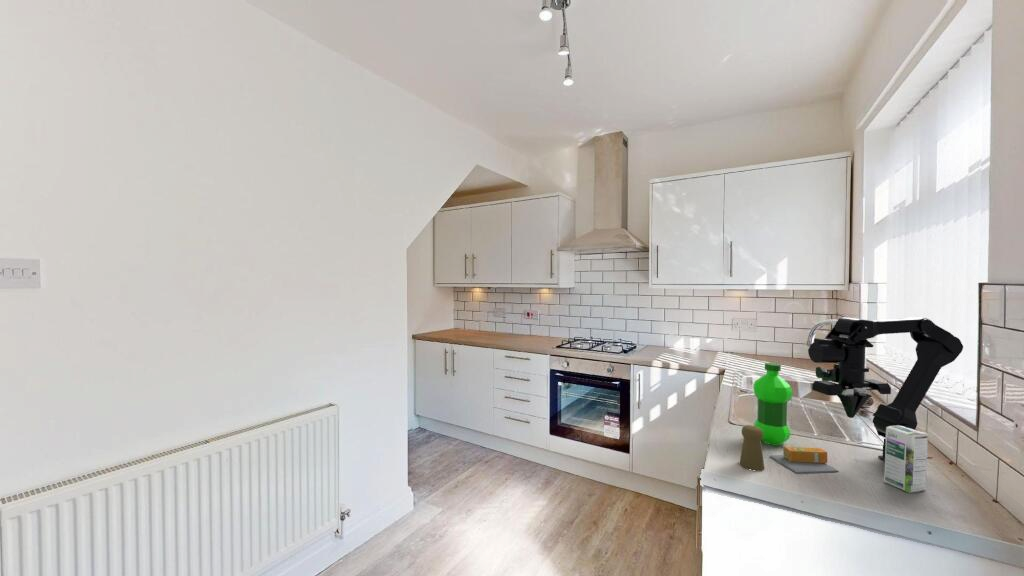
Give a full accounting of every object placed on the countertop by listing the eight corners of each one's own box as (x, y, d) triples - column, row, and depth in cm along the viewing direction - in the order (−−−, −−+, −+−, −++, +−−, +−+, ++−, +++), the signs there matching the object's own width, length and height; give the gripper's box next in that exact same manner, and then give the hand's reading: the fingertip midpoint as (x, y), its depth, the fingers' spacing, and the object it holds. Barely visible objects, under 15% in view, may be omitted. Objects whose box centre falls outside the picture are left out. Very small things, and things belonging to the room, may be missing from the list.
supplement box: (827, 451, 112) (789, 450, 113) (828, 463, 112) (789, 463, 113) (819, 446, 115) (782, 446, 116) (820, 458, 115) (783, 458, 116)
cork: (766, 465, 112) (767, 426, 111) (761, 473, 107) (762, 432, 107) (742, 458, 116) (743, 421, 116) (736, 466, 111) (737, 427, 111)
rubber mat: (808, 455, 118) (808, 454, 118) (838, 472, 108) (838, 470, 108) (769, 456, 117) (769, 455, 117) (796, 473, 107) (796, 471, 107)
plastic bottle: (786, 438, 130) (788, 362, 130) (793, 451, 121) (795, 369, 120) (751, 433, 135) (752, 359, 134) (755, 445, 125) (756, 366, 124)
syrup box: (882, 482, 103) (884, 426, 102) (900, 479, 104) (901, 424, 104) (909, 493, 97) (911, 434, 97) (927, 490, 99) (929, 432, 98)
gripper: (856, 356, 121) (854, 407, 122) (797, 357, 120) (796, 408, 121) (893, 364, 110) (892, 420, 111) (829, 365, 109) (828, 422, 109)
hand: (850, 417), depth 113 cm, fingers closed
